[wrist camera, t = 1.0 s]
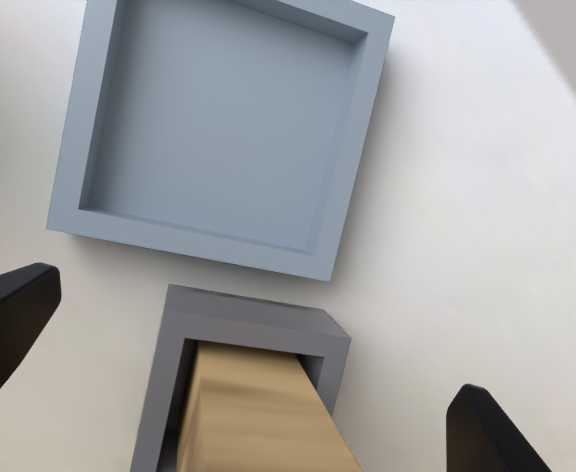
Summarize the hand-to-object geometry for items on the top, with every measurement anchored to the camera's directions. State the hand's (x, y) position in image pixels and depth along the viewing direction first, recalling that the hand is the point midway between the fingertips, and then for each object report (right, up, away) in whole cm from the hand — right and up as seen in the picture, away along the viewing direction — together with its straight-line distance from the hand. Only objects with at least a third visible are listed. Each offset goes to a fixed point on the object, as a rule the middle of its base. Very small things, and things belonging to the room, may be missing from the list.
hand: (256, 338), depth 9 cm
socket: (-2, -5, +13) cm, 14 cm away
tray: (-2, +7, +11) cm, 13 cm away
